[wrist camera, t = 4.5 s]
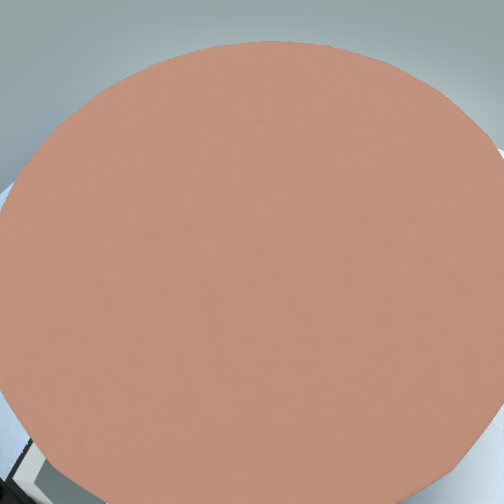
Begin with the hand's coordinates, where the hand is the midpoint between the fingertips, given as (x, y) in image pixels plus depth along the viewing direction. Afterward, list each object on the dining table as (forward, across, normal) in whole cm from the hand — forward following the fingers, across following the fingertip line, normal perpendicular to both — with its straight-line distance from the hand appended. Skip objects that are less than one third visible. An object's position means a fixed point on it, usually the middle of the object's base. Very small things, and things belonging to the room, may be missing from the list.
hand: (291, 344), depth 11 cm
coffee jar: (+8, -1, -7) cm, 11 cm away
